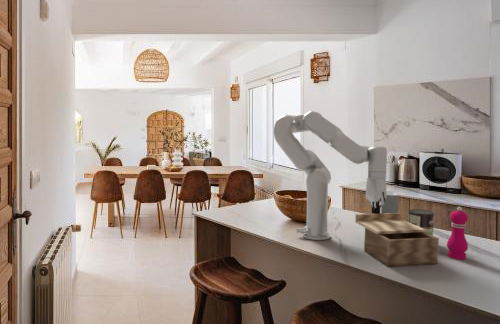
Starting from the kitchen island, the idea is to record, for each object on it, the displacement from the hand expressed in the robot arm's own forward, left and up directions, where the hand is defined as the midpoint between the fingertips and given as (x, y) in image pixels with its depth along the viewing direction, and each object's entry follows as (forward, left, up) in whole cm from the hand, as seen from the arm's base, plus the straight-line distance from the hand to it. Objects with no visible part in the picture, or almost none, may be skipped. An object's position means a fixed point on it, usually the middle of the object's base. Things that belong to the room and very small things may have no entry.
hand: (375, 216), depth 165 cm
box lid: (0, -11, -2) cm, 11 cm away
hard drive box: (+13, +13, -12) cm, 22 cm away
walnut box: (0, -19, -12) cm, 22 cm away
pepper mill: (+23, -22, -12) cm, 34 cm away
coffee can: (+20, -3, -12) cm, 23 cm away
